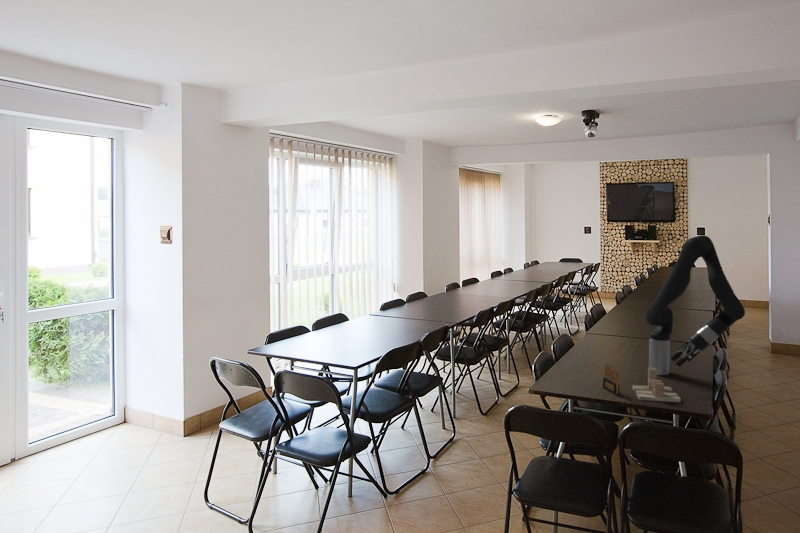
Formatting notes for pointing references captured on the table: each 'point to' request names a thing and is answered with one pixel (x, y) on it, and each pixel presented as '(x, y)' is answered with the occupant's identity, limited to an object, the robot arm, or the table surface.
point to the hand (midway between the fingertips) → (674, 362)
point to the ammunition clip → (611, 379)
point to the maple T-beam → (650, 382)
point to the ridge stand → (658, 393)
